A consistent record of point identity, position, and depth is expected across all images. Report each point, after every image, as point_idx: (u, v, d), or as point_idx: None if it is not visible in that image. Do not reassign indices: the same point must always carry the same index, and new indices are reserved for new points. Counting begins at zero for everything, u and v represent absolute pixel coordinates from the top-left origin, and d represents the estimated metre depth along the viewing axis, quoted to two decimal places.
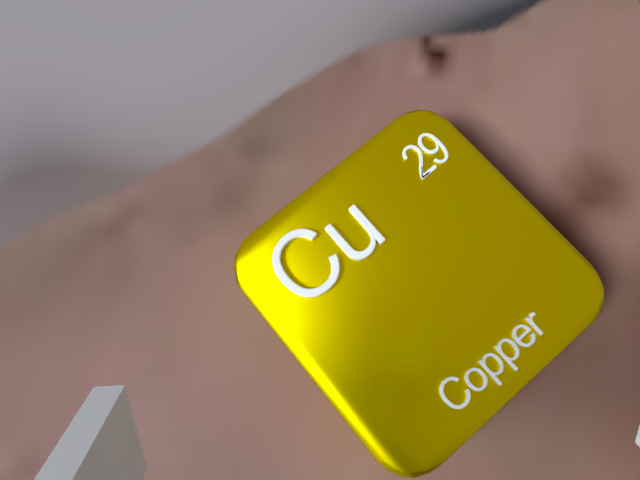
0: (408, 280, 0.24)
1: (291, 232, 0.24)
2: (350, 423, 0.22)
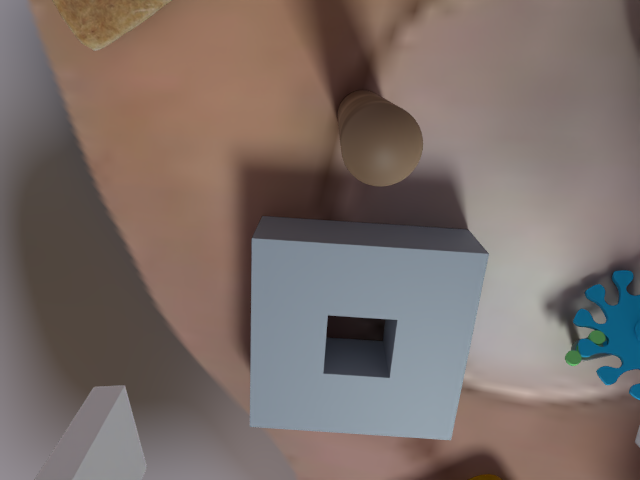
0: None
1: None
2: None
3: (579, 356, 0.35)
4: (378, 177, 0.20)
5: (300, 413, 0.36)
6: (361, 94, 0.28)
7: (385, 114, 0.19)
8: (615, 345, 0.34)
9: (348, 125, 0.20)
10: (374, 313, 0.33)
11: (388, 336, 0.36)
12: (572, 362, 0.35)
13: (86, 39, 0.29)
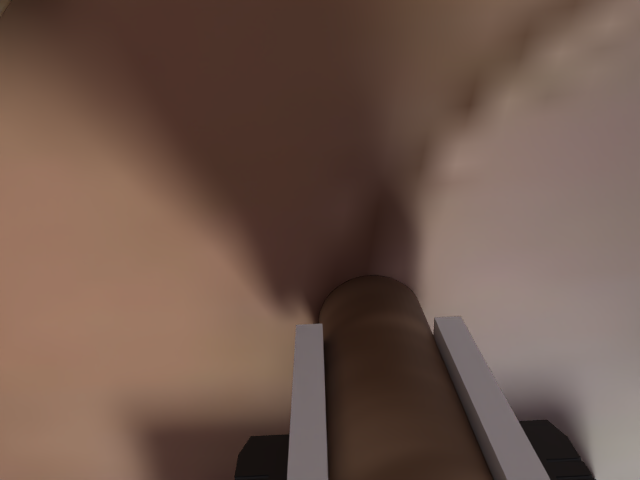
0: None
1: None
2: None
3: None
4: None
5: None
6: (374, 386, 0.10)
7: None
8: None
9: None
10: None
11: None
12: None
13: None
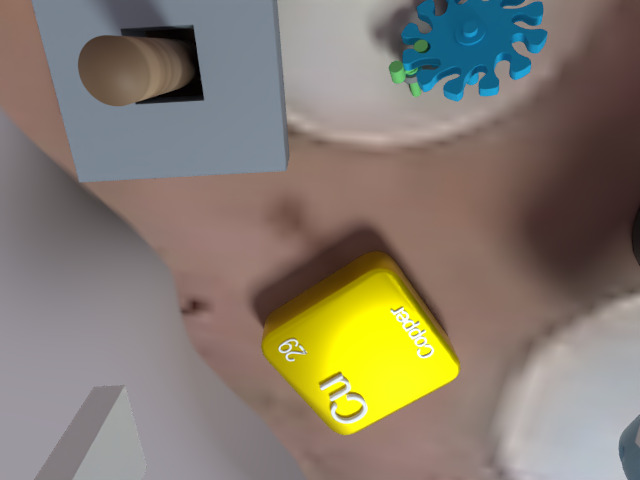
0: (364, 364, 0.44)
1: (332, 415, 0.46)
2: (430, 392, 0.46)
3: (401, 65, 0.34)
4: (117, 98, 0.25)
5: (125, 158, 0.35)
6: None
7: (106, 43, 0.24)
8: (435, 50, 0.33)
9: (79, 57, 0.24)
10: (167, 19, 0.31)
11: None
12: (393, 71, 0.34)
13: None
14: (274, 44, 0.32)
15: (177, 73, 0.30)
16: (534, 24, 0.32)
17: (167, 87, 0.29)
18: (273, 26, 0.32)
